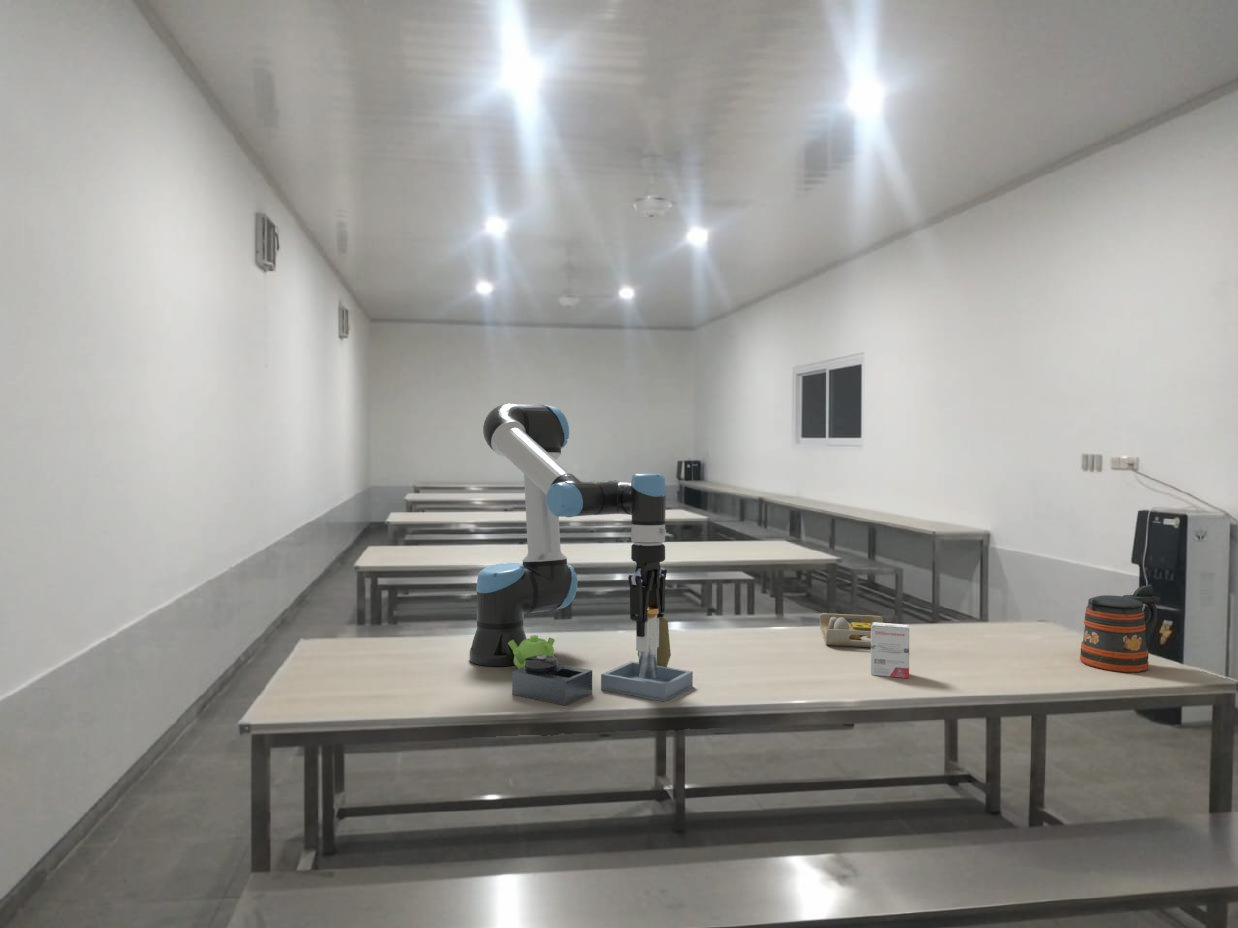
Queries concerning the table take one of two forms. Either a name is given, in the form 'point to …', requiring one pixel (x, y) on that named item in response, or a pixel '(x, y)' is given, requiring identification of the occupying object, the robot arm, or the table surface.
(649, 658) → the glass jar with lid
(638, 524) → the robot arm
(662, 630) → the squeeze bottle
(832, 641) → the toy food set
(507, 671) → the table surface
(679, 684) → the parts tray
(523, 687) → the grey boxy piece
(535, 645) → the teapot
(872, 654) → the ink box
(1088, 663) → the beer stein
